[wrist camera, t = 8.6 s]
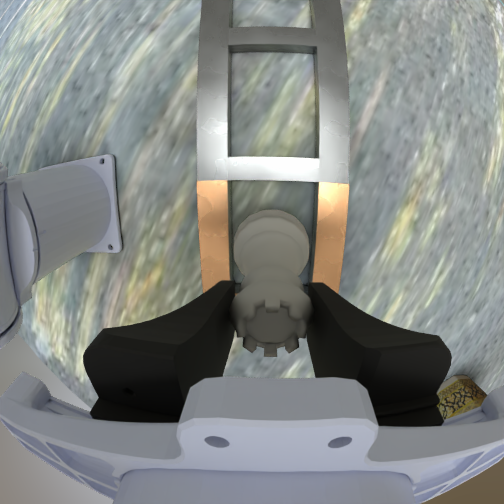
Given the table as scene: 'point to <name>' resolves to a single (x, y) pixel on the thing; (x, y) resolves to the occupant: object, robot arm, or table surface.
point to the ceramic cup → (459, 396)
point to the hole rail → (272, 168)
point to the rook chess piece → (271, 282)
